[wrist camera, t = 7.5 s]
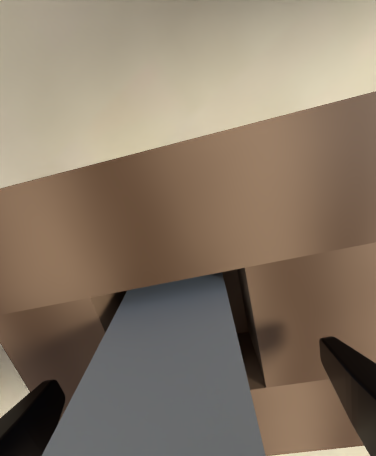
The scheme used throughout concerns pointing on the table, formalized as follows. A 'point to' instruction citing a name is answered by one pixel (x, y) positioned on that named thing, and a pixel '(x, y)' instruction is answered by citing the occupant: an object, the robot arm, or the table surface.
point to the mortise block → (210, 256)
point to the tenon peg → (164, 380)
